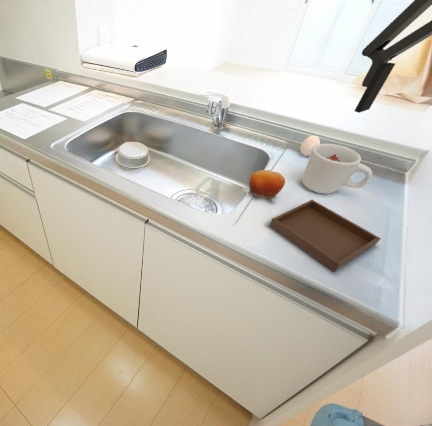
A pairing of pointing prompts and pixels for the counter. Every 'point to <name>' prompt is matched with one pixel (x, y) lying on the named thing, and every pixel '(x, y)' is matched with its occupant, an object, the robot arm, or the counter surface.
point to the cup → (333, 168)
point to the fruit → (266, 183)
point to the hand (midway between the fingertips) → (413, 126)
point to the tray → (324, 234)
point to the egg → (309, 145)
